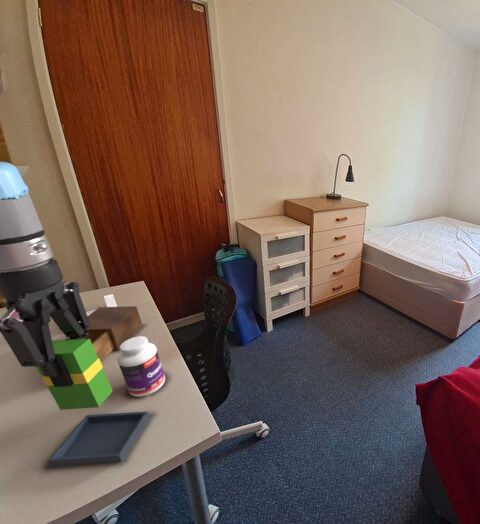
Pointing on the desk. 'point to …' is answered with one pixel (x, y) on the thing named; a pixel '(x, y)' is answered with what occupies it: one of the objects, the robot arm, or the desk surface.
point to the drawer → (101, 343)
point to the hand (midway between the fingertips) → (74, 375)
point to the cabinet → (116, 323)
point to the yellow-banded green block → (79, 376)
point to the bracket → (109, 301)
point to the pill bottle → (140, 366)
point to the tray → (100, 439)
